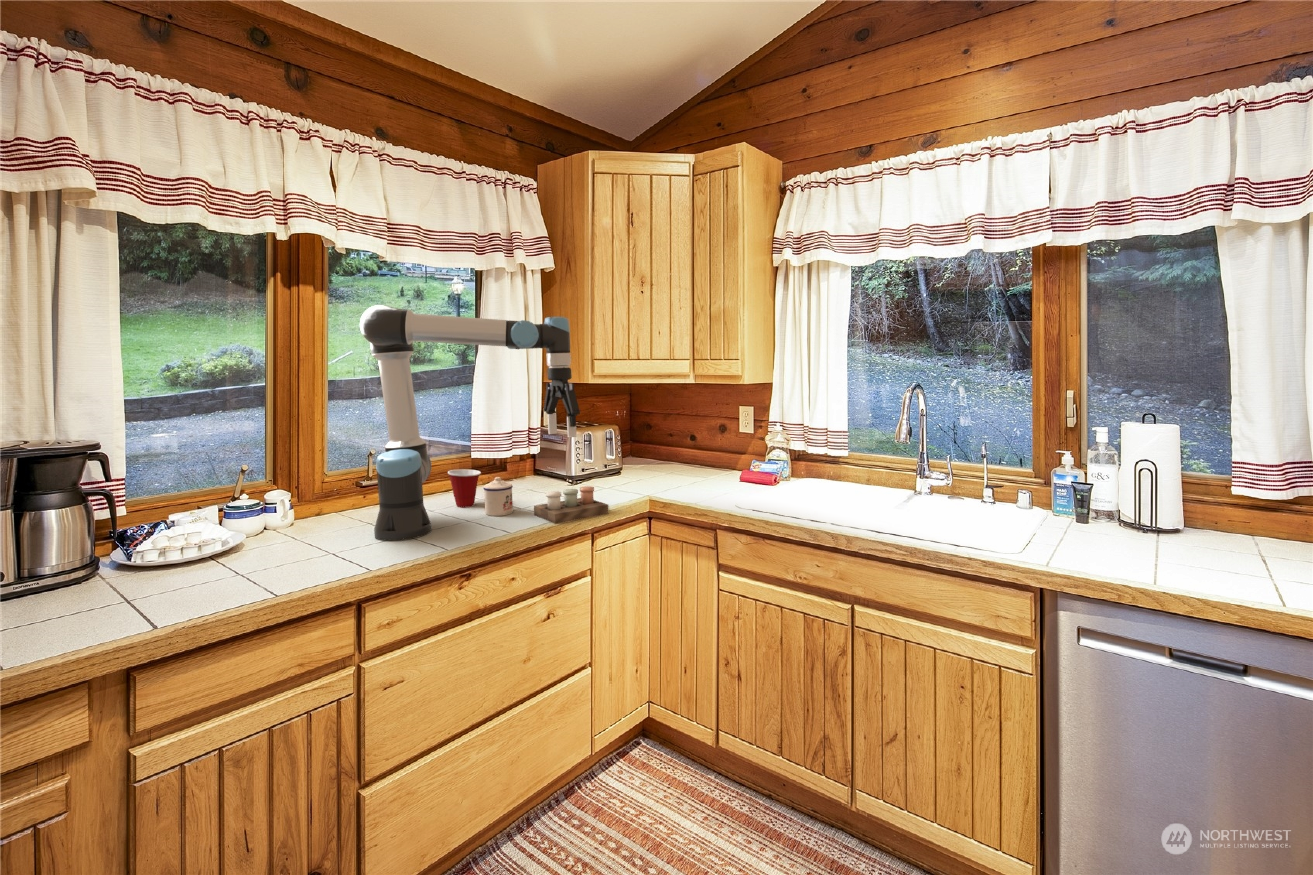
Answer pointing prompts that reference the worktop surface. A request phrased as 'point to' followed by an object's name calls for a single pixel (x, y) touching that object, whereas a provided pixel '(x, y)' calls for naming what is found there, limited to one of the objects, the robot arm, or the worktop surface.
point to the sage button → (570, 497)
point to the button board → (571, 511)
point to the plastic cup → (464, 486)
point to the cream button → (553, 500)
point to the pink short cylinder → (587, 495)
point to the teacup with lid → (498, 498)
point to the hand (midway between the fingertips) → (562, 435)
